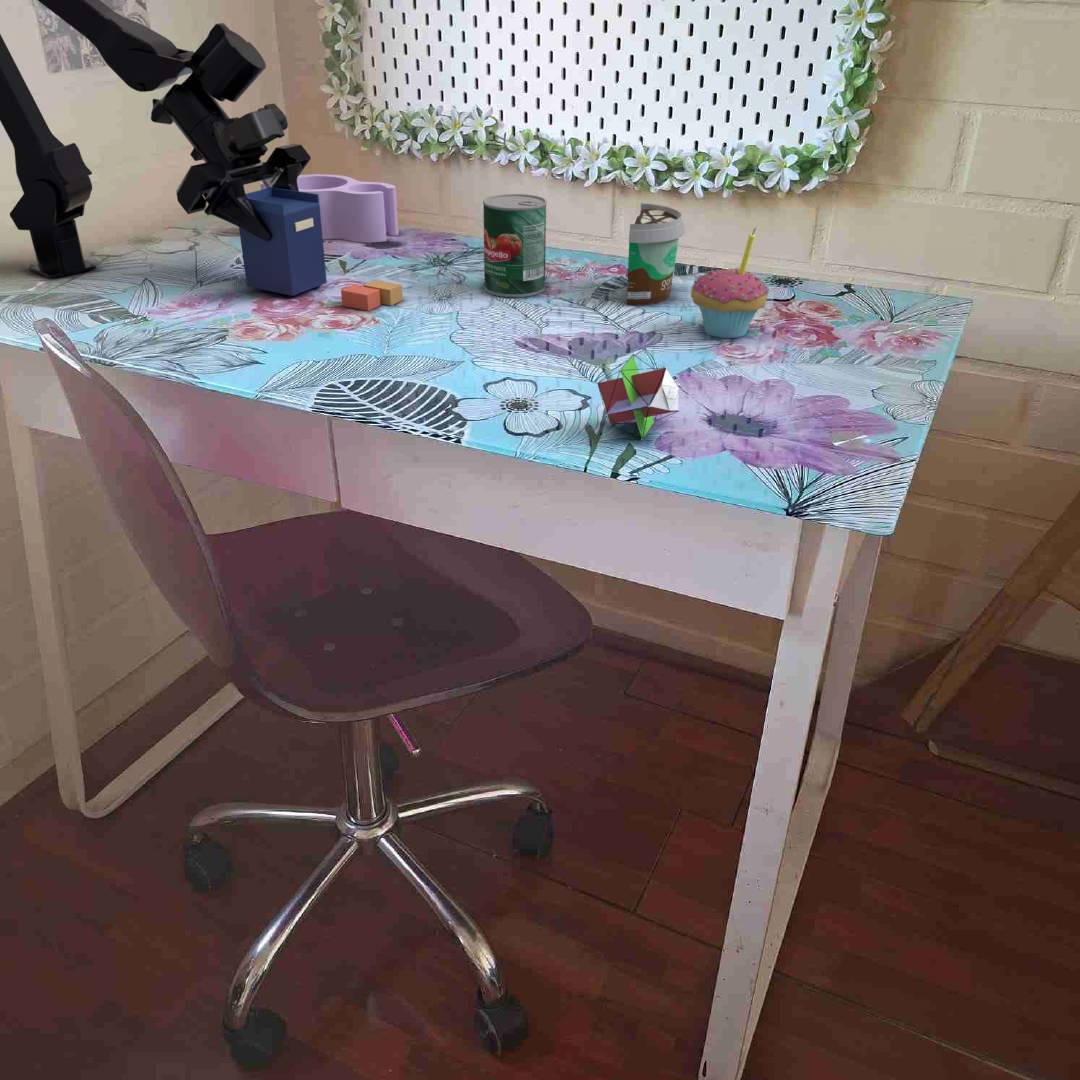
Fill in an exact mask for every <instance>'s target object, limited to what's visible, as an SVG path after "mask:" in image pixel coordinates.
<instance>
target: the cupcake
mask: <svg viewBox="0 0 1080 1080" xmlns="http://www.w3.org/2000/svg"><path fill="white" fill-rule="evenodd" d="M756 230H757V227H754V228H753V230H752V233H750V234H748V238H747V242H746V245H745V249H744V252H743V256H742V259H741V262H740V267H739V268H729V269H727V268H725V269H721V268H719V269H715V270H710V271H708V272H707V273H705V274H703V275H701V276H699V277H698V278H697V279H696V280H695V281H693V285H692V287H691V293H690V294H691V295H690V296H691V299H692V301H693V303H694V304H695V305H696V306H698V308H699V310H700V314H701V317H702V323H703V327H704V332H705V333H706V334H708V335H710V336H712V337H715V338H722V339H736V338H741V337H745V335H747V333H748V331H749V328H750V326H751V323H752V321H753V319H754V317H755V315H756V314H757V312H758V310H759V309H763V308H765V306H766V303H767V300H768V294H769V290H770V289H769V288H768V287H767V285H766V284H765V283H764V282H763V281H762V279H761V278H759V277H757V275H755V274H752V273H751V272H750V271H746V270H747V266H748V263H749V259H750V256H751V252H752V249H753V245H754V242H755V238H756V235H755V233H756Z"/></svg>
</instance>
